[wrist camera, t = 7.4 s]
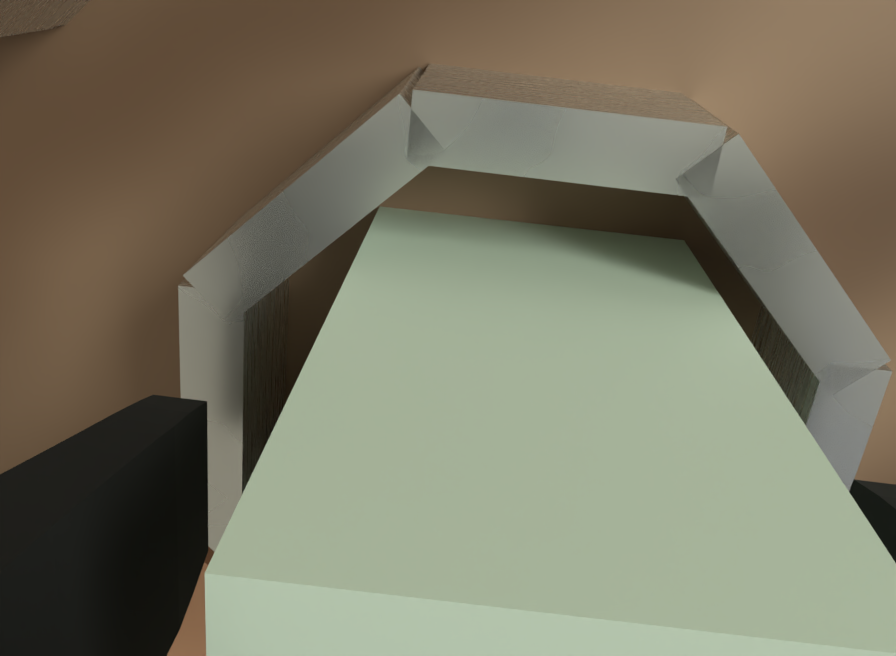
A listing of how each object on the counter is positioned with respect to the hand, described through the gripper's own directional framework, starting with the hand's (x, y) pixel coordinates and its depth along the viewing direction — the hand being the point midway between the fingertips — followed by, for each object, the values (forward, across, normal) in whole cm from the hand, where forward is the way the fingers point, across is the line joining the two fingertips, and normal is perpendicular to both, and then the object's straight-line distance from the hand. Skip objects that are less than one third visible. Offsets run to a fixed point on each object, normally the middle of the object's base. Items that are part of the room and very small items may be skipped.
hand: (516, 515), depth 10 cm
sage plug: (+4, 0, 0) cm, 4 cm away
